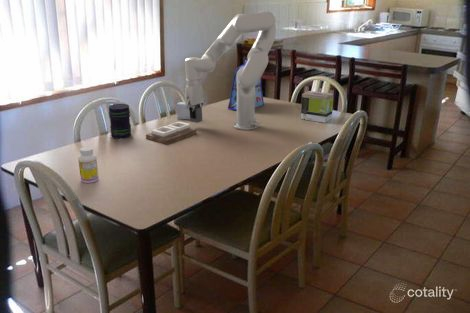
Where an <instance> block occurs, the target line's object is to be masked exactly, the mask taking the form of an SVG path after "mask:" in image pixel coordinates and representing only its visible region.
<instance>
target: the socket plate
mask: <svg viewBox="0 0 470 313" xmlns="http://www.w3.org/2000/svg"><path fill="white" fill-rule="evenodd" d="M190 128H191V123H188V122H184V121H180V120H179V121H176V122H173V123H170V124H167V125H166V126H165V125H164V126H160V127H157V128H154V129H152V130H151V133H152V135H153V136H156V137H160V138H166V137H169V136H172V135H175V134H177V133H180V132H183V131H186V130H189V129H190Z"/></svg>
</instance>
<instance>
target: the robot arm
mask: <svg viewBox="0 0 470 313" xmlns="http://www.w3.org/2000/svg"><path fill="white" fill-rule="evenodd" d="M254 32H255V33H256V32H258V34H257V36H256V39H255V40H254V42H253V45H252V46H251V48H250V50H249V52H247V53H248V54H247V57H246V58H247V60H248V61H247V63H246V65H245V66H244V67H241V68H240V69H239V70H238V72H237V76H236V81H237V110H236V122H234V123H233V127H234V128H235V129H236V130H243V131H249V130H254V129H255V130H256V129H257V128H259V127H260V126H261V122H259V121H257V118H255V117H256V114H255V113H256V108H255V86H256V85H257V83H258V81H259V80H260V78H261V79H262V76H263V74H264V73H265V70H266V68H267V66H268V64H269V56H268V55H269V52H270V51H271V49H272V47H273V44H274V42H275V40H276V37H277V36H276V35H277V27H276V16H275V15H274V13H273V12H271V11H269V10H266V9H262V10H259V11H258V12H254V13H246V14H245V13H238V14H236V15H234V17H233V18H232V19H231V21H230V22H229V23H228V24H227V26H226V27H225V28H224V29H223V31H222V32H221V33H220V34H219V35H218V37H217V38H216V39H215V41H213V43H212V44H211V45H210V46H209V48H207V50H206V51H205V53H204V54H203V55H202V56H201V58H199V57H197V56H191V57H186V58H185V59H184V67H185V68H184V70H185V82H186V85H185V89H184V103H185V104H186V105H185V107H186V108H188V109H189V111H190V118H193V119H195V118H196V115H195V111H194V108H195V105H198V107H200V108H202V109H203V106H204V103H205V102H206V99H205V95H204V89H203V84H202V74H201V73H206V74H207V73H212V72H214V71H215V69H216V67H217V65H216V63H217V62H218V61H219V59H220V58H221V57H222V56H223V55H224V54H225V53H227V51H229V50H231V49H232V48H233V47H234V46H235V45H236V44H237V43H238V41H239V40H240V39H241V38H242V36H243V35H244V34H247V33H254ZM191 106H192V107H191Z"/></svg>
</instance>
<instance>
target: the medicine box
mask: <svg viewBox="0 0 470 313" xmlns="http://www.w3.org/2000/svg"><path fill="white" fill-rule="evenodd" d="M185 105H186V104H185V102H181V101H179V102H178V103H176V115H177V116H176V118H177V120H190V111H189V109H188V108H186V107H185ZM191 107H192V106H191Z"/></svg>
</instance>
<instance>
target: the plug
mask: <svg viewBox="0 0 470 313" xmlns="http://www.w3.org/2000/svg"><path fill="white" fill-rule="evenodd" d="M198 105H199V104H198ZM198 105H195V108H194V111H195V115H196V118H195V119H193V118H190V119H189V121H190V122H191V123H196V124H198V123H200V122H203V110H202V109H203V107H202V108H200V107H198Z"/></svg>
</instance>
